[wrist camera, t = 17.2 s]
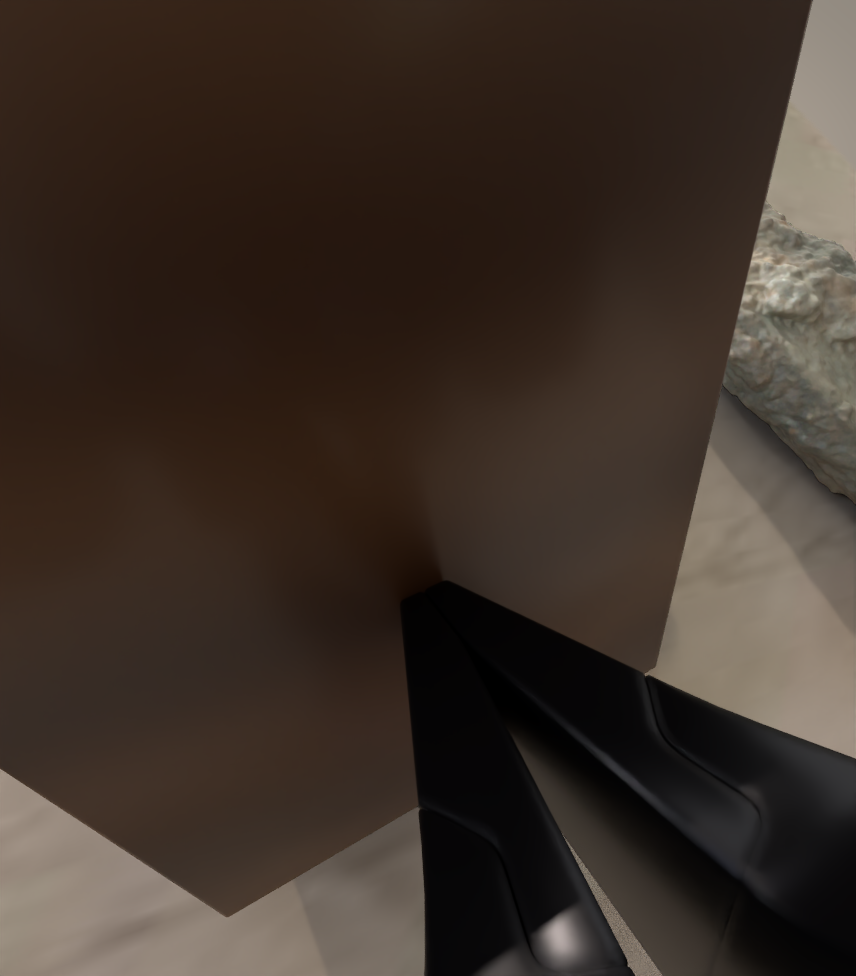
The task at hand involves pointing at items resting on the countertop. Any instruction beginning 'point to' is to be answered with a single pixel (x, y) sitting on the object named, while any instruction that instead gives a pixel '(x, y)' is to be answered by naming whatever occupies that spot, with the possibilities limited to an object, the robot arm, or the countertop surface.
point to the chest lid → (345, 376)
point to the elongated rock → (800, 348)
